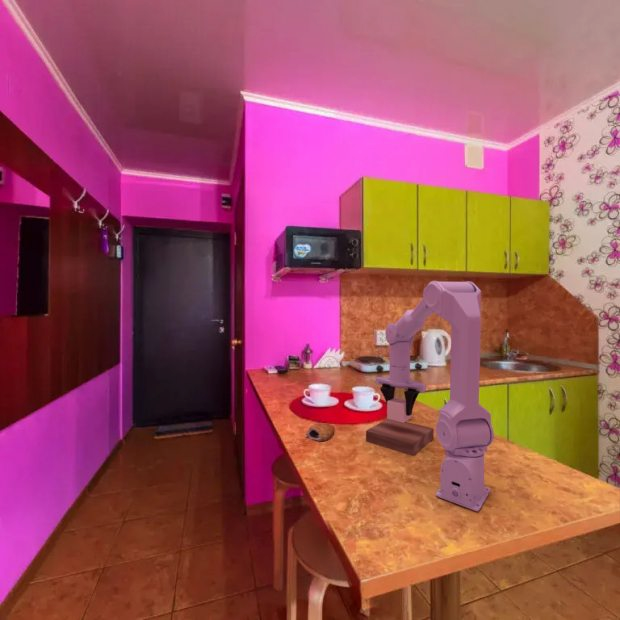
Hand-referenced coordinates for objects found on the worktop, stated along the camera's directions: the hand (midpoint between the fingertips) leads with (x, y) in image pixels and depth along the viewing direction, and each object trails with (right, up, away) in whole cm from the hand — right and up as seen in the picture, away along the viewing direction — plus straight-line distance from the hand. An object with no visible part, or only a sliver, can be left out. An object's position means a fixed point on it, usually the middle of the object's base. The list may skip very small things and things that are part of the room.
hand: (399, 412), depth 93 cm
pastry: (-23, -8, +3) cm, 24 cm away
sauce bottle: (+6, -8, +19) cm, 21 cm away
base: (0, -8, 0) cm, 8 cm away
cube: (0, -2, 0) cm, 2 cm away
